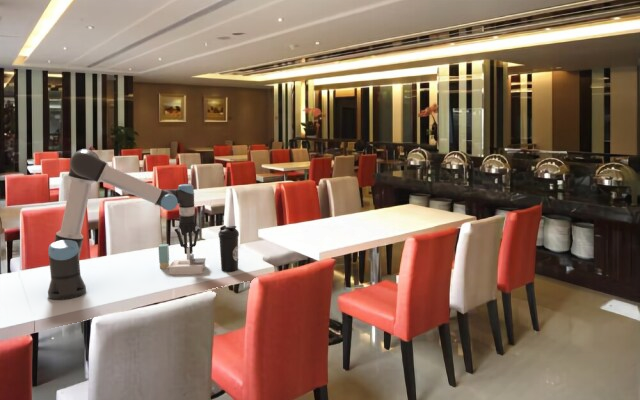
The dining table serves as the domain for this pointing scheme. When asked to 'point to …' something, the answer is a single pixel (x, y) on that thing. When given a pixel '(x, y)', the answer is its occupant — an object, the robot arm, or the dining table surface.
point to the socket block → (185, 267)
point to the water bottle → (229, 248)
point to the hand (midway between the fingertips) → (188, 259)
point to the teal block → (164, 255)
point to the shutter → (196, 260)
